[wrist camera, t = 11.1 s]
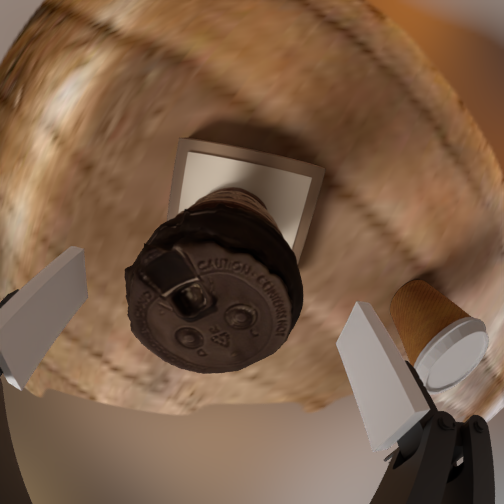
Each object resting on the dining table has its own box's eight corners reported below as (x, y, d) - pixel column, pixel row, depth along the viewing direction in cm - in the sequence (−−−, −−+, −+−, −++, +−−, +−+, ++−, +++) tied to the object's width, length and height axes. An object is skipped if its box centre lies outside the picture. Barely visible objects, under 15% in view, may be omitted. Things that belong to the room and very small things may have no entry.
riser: (170, 256, 27) (161, 271, 24) (187, 137, 23) (178, 137, 20) (284, 279, 28) (288, 296, 25) (317, 165, 24) (326, 169, 21)
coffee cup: (187, 162, 20) (105, 201, 9) (291, 178, 21) (340, 236, 9) (178, 261, 24) (123, 369, 12) (270, 275, 24) (283, 395, 13)
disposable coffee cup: (364, 321, 31) (399, 395, 20) (407, 255, 27) (467, 317, 16) (411, 336, 32) (448, 398, 21) (450, 281, 29) (502, 335, 18)
